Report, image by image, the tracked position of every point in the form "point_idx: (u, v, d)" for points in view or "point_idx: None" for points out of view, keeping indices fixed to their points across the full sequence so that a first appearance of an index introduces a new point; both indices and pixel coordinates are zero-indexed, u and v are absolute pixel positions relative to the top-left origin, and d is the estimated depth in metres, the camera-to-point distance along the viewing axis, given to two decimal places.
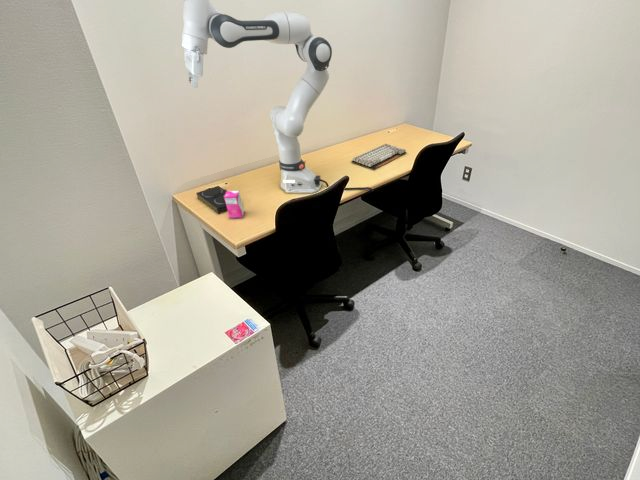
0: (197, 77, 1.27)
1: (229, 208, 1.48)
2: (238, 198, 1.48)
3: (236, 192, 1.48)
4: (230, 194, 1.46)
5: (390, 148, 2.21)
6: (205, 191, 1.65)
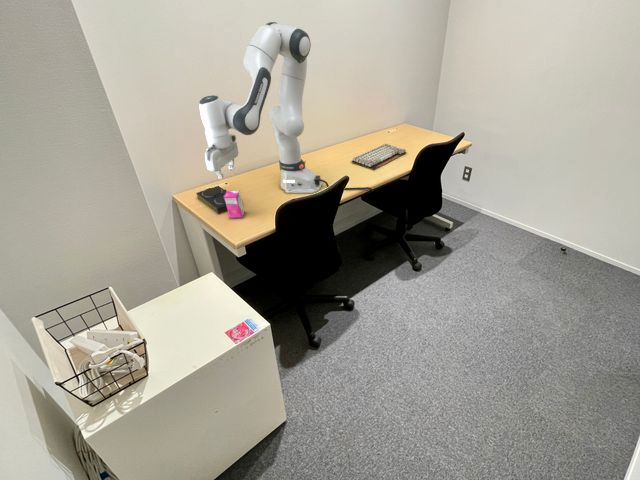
0: (217, 171, 1.33)
1: (229, 208, 1.48)
2: (238, 198, 1.48)
3: (236, 192, 1.48)
4: (230, 194, 1.46)
5: (390, 148, 2.21)
6: (205, 191, 1.65)
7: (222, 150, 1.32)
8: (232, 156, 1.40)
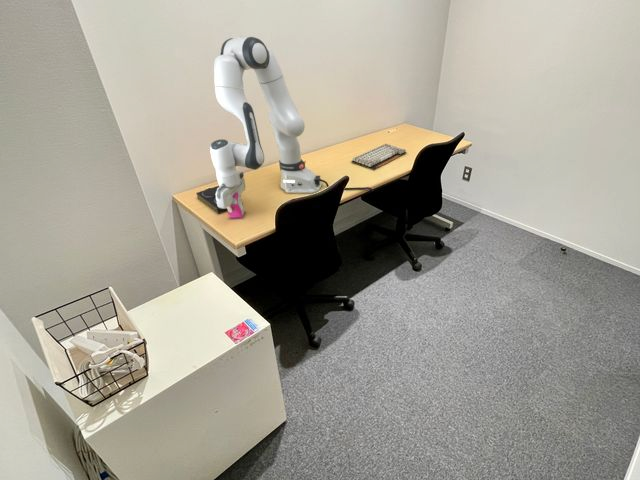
0: (228, 206, 1.45)
1: None
2: (238, 198, 1.48)
3: None
4: None
5: (390, 148, 2.21)
6: (205, 191, 1.65)
7: (231, 188, 1.42)
8: (240, 191, 1.51)
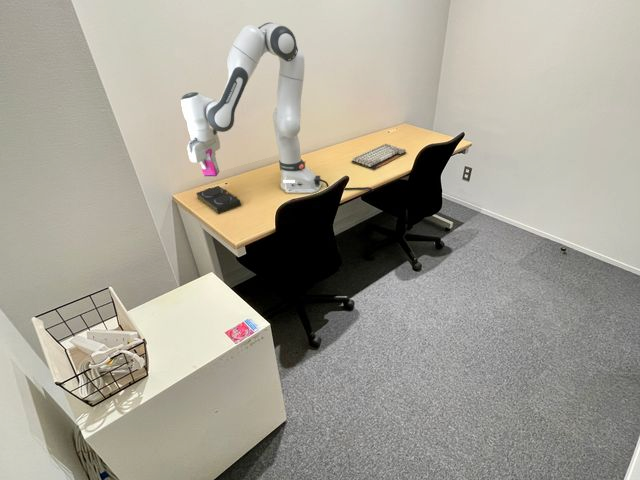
0: (201, 162, 1.45)
1: None
2: (212, 155, 1.48)
3: (209, 149, 1.48)
4: None
5: (390, 148, 2.20)
6: (205, 191, 1.65)
7: (204, 143, 1.42)
8: (214, 149, 1.51)
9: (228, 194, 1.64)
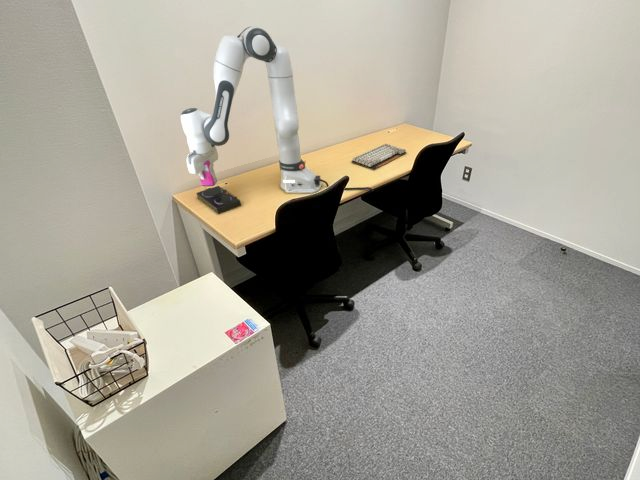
0: (199, 172, 1.53)
1: None
2: (209, 166, 1.56)
3: (208, 160, 1.56)
4: None
5: (390, 148, 2.21)
6: (205, 191, 1.65)
7: (202, 155, 1.50)
8: (212, 160, 1.59)
9: (228, 194, 1.64)
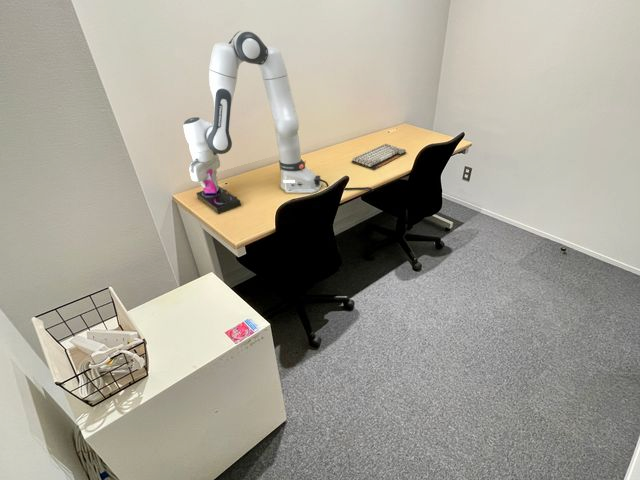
0: (201, 181, 1.54)
1: None
2: (212, 174, 1.58)
3: (210, 169, 1.58)
4: None
5: (390, 148, 2.20)
6: None
7: (204, 163, 1.53)
8: (214, 167, 1.61)
9: (228, 194, 1.64)
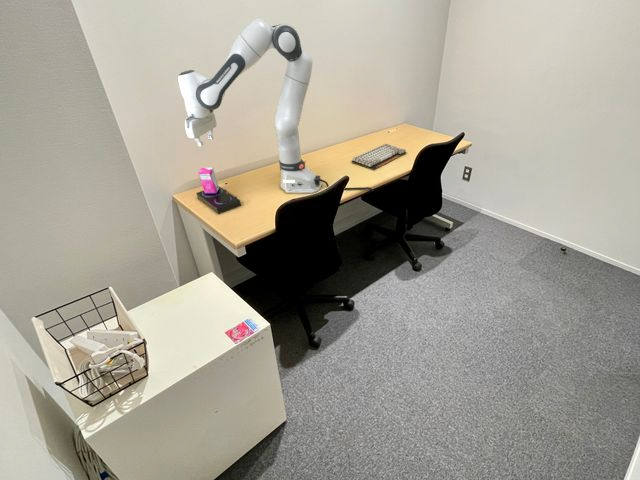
0: (197, 138, 1.50)
1: (204, 183, 1.59)
2: (212, 174, 1.58)
3: (210, 169, 1.58)
4: (204, 170, 1.57)
5: (390, 148, 2.20)
6: None
7: (200, 119, 1.49)
8: (210, 126, 1.57)
9: (228, 194, 1.64)
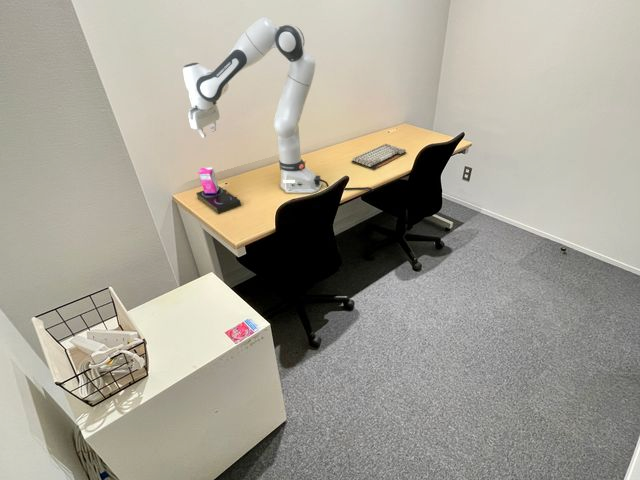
0: (200, 130, 1.54)
1: (204, 183, 1.59)
2: (212, 174, 1.58)
3: (210, 169, 1.58)
4: (204, 170, 1.57)
5: (390, 148, 2.20)
6: None
7: (204, 111, 1.53)
8: (213, 118, 1.61)
9: (228, 194, 1.64)
